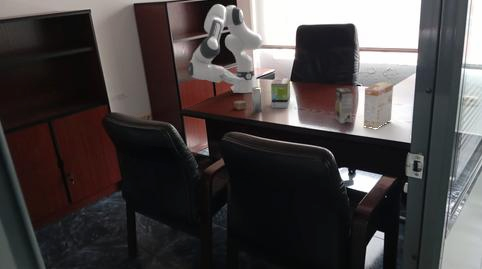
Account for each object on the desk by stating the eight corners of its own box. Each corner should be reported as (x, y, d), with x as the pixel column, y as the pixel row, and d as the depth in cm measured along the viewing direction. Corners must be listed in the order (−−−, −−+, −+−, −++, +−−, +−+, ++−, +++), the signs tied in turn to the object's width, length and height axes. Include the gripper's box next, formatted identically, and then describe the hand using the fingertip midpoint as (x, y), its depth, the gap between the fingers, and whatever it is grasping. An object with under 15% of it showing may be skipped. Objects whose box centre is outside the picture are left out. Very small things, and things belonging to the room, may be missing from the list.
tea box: (288, 108, 234) (287, 83, 229) (271, 108, 236) (270, 83, 231) (290, 101, 247) (289, 77, 242) (274, 101, 250) (273, 77, 244)
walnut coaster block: (234, 108, 240) (234, 102, 239) (241, 106, 243) (240, 100, 241) (239, 110, 236) (239, 103, 235) (246, 108, 239) (245, 101, 237)
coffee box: (334, 118, 211) (335, 88, 206) (346, 117, 212) (347, 87, 206) (340, 123, 203) (340, 92, 197) (352, 122, 203) (353, 91, 197)
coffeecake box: (378, 119, 205) (380, 81, 198) (391, 121, 200) (394, 83, 193) (362, 127, 196) (364, 88, 189) (376, 130, 191) (378, 90, 184)
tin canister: (251, 111, 232) (250, 87, 227) (259, 109, 234) (258, 86, 229) (255, 113, 228) (253, 89, 223) (263, 112, 229) (262, 88, 224)
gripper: (226, 73, 204) (249, 78, 211) (212, 63, 221) (234, 68, 228) (223, 85, 206) (246, 89, 213) (209, 74, 223) (231, 78, 230)
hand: (239, 78), depth 220 cm, fingers open, 8 cm apart
